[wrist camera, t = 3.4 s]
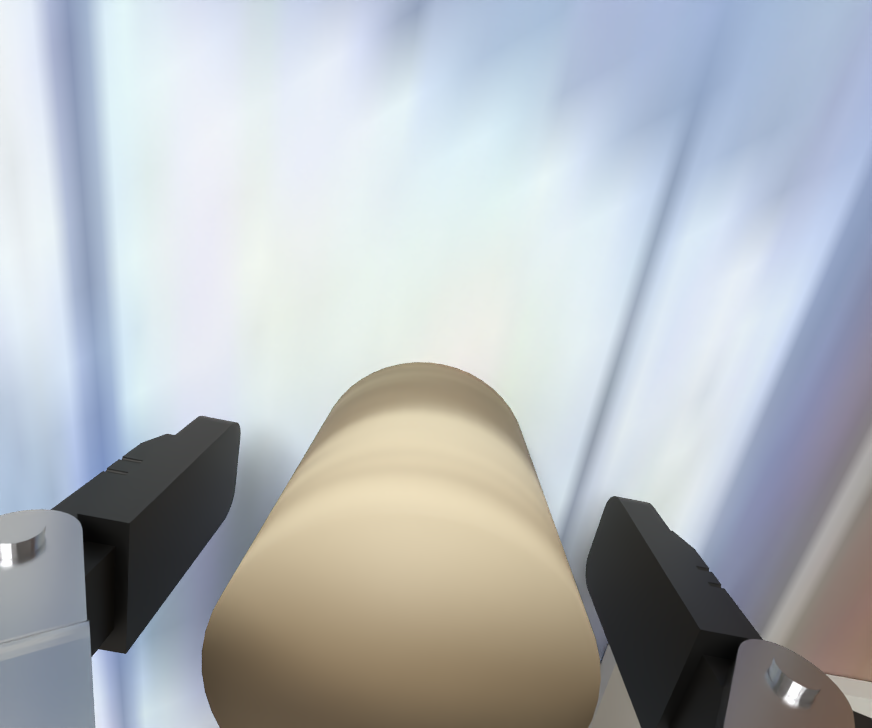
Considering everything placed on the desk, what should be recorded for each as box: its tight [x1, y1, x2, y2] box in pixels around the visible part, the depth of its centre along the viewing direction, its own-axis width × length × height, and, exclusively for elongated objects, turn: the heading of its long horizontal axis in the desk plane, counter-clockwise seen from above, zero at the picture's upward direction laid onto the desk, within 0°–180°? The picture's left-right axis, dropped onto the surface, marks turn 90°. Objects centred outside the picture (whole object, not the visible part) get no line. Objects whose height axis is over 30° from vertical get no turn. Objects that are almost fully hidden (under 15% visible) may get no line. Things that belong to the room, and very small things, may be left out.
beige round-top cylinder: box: [202, 362, 601, 728], centre depth 9 cm, size 5×5×6 cm
